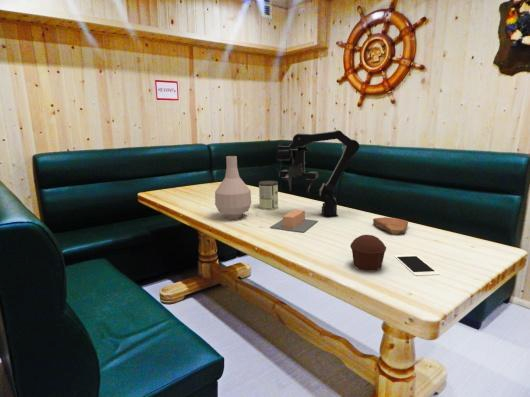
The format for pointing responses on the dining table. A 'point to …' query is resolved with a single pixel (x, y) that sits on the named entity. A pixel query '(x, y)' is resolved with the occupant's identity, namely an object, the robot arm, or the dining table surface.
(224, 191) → the vase
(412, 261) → the cell phone
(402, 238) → the dining table surface
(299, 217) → the terracotta block
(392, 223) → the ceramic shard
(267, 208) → the coffee can
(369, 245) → the muffin
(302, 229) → the charcoal mat
